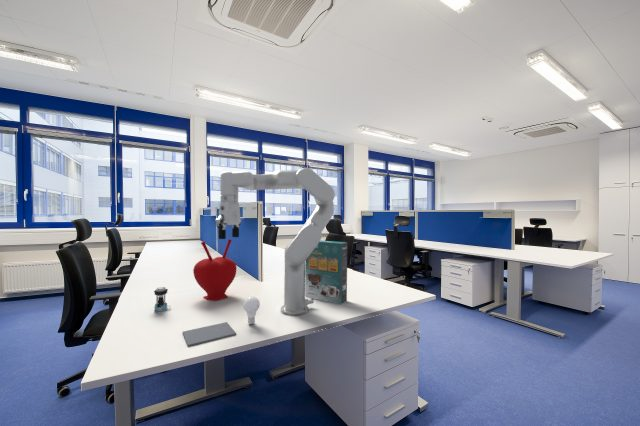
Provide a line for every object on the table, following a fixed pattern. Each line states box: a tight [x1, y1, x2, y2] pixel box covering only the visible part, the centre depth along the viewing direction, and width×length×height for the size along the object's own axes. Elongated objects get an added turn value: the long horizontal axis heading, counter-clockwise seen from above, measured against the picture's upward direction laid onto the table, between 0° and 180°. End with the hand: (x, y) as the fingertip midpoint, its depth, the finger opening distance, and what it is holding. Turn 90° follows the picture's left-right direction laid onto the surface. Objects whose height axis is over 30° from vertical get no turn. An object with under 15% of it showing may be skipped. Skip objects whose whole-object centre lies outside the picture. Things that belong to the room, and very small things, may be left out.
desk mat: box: [182, 321, 237, 348], centre depth 98 cm, size 16×12×1 cm
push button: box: [153, 286, 171, 312], centre depth 122 cm, size 7×5×10 cm
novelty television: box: [192, 238, 237, 302], centre depth 141 cm, size 21×13×30 cm, turn 144°
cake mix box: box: [305, 240, 348, 305], centre depth 141 cm, size 22×6×30 cm, turn 58°
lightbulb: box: [243, 295, 261, 325], centre depth 107 cm, size 6×6×11 cm
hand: (229, 237), depth 120 cm, fingers open, 9 cm apart
